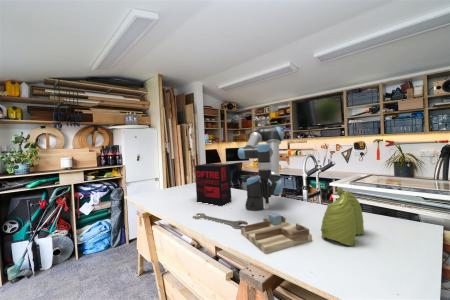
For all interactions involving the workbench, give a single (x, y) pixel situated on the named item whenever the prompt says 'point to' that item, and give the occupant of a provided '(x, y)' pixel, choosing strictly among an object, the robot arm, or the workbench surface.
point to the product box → (213, 183)
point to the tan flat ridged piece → (275, 235)
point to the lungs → (343, 219)
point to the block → (275, 219)
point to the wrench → (222, 221)
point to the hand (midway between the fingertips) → (266, 208)
